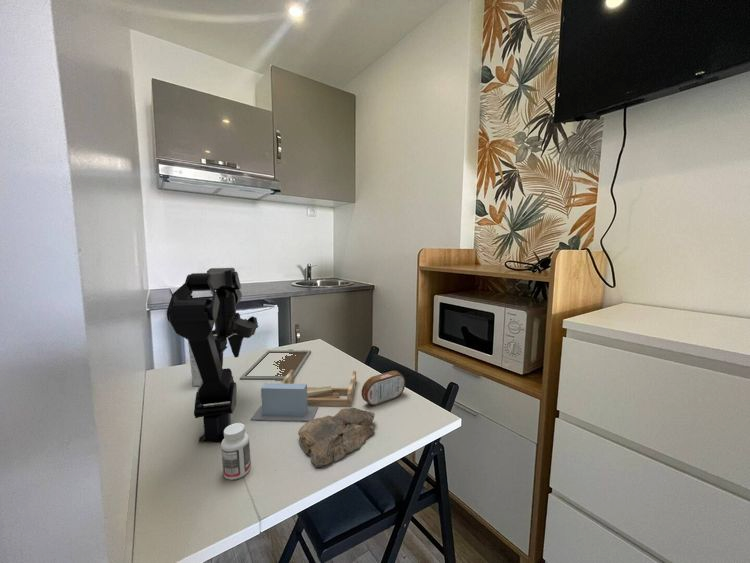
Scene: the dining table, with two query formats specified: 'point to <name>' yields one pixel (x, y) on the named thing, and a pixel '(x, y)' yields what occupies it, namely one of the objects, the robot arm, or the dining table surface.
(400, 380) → the tin
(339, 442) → the brown rock
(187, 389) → the dining table surface
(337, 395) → the offcut lower
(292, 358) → the grey picture frame
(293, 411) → the light blue block
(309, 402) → the rack
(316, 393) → the offcut upper
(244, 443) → the pill bottle
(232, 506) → the dining table surface
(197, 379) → the candy bar box
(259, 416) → the mat
